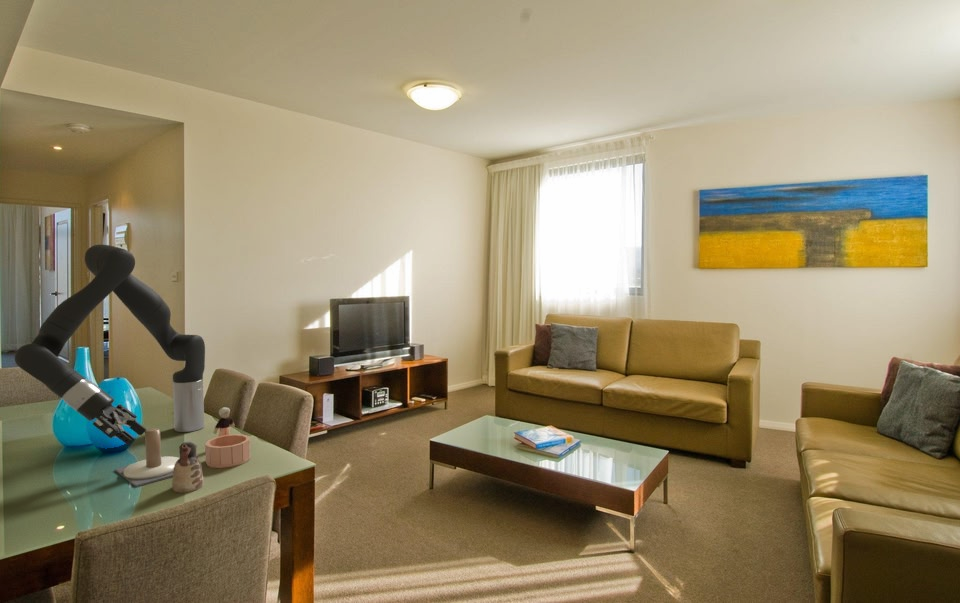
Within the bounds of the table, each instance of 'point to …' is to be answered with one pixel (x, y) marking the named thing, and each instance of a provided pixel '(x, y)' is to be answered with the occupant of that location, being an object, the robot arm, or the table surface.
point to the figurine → (187, 470)
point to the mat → (142, 481)
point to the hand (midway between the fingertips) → (138, 437)
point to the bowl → (227, 451)
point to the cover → (151, 459)
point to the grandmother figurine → (224, 422)
